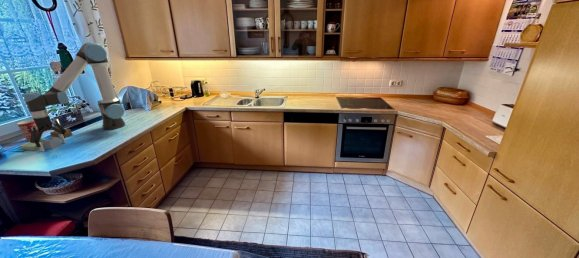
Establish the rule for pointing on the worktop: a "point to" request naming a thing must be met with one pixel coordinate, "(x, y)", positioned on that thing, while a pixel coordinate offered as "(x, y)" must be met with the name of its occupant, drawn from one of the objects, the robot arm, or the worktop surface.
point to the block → (52, 143)
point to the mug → (27, 128)
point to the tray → (31, 146)
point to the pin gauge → (58, 123)
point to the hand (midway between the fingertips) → (53, 146)
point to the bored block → (56, 134)
